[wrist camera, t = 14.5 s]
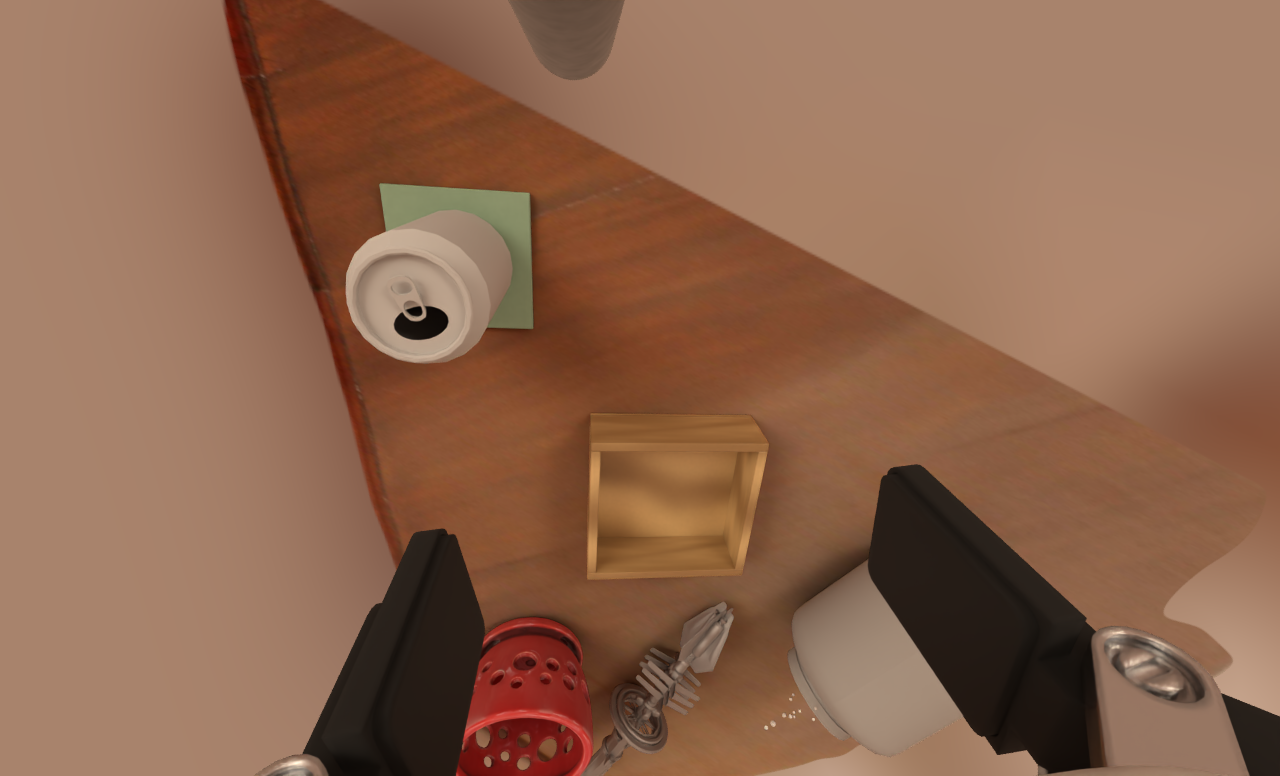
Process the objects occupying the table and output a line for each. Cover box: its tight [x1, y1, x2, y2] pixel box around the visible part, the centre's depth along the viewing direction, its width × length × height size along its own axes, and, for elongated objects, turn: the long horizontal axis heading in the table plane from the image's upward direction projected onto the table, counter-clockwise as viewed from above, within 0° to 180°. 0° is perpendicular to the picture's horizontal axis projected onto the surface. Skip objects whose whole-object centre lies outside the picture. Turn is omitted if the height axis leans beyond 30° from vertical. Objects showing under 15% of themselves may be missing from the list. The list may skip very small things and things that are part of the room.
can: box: [346, 210, 513, 364], centre depth 30 cm, size 8×8×12 cm
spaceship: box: [580, 602, 734, 776], centre depth 56 cm, size 8×35×8 cm
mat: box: [379, 183, 534, 329], centre depth 36 cm, size 10×10×1 cm
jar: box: [764, 560, 963, 757], centre depth 50 cm, size 19×15×25 cm
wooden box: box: [587, 413, 769, 580], centre depth 45 cm, size 15×15×5 cm
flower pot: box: [456, 617, 593, 776], centre depth 49 cm, size 13×13×12 cm
